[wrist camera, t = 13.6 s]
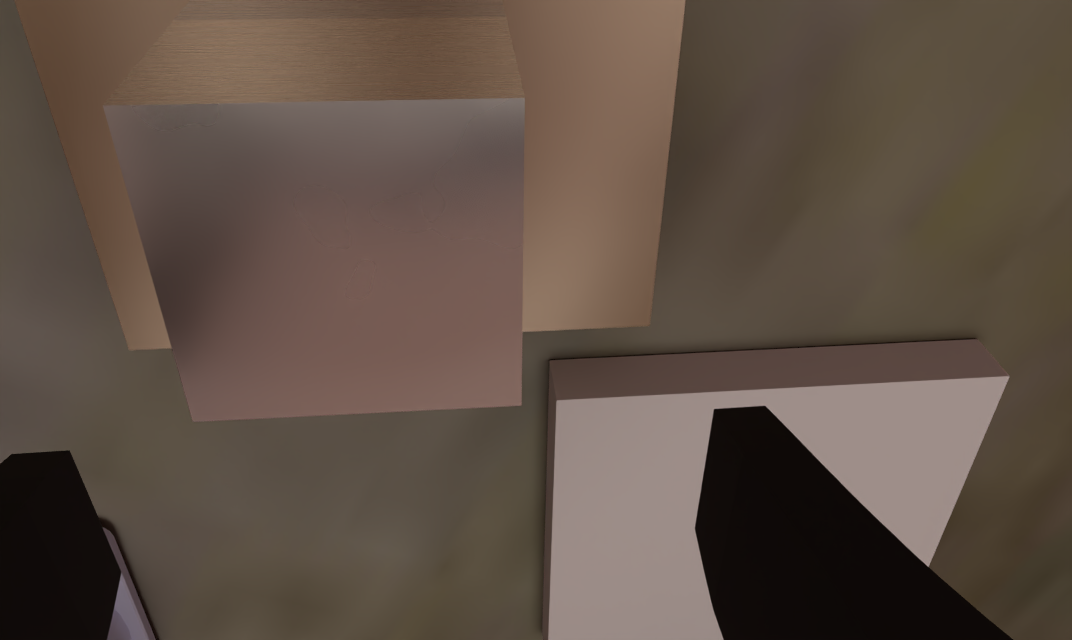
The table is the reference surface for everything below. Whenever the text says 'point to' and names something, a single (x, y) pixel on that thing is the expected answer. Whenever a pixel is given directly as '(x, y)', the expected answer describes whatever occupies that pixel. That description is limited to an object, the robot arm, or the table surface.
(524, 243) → the stand
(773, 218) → the table surface
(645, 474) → the stand
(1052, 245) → the table surface
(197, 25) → the block
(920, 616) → the robot arm
